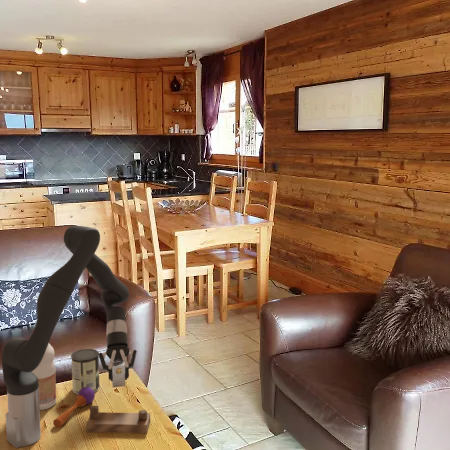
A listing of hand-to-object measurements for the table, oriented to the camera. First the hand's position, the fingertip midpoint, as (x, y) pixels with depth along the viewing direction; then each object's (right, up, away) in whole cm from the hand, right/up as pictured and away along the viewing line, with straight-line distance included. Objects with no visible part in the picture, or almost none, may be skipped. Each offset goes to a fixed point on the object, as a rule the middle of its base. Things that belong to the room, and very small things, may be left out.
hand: (119, 379), depth 175 cm
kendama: (-15, -12, -1) cm, 19 cm away
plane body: (+2, -13, -9) cm, 16 cm away
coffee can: (-16, -8, +16) cm, 24 cm away
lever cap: (-1, -2, +2) cm, 3 cm away
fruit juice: (-29, -10, +4) cm, 31 cm away
